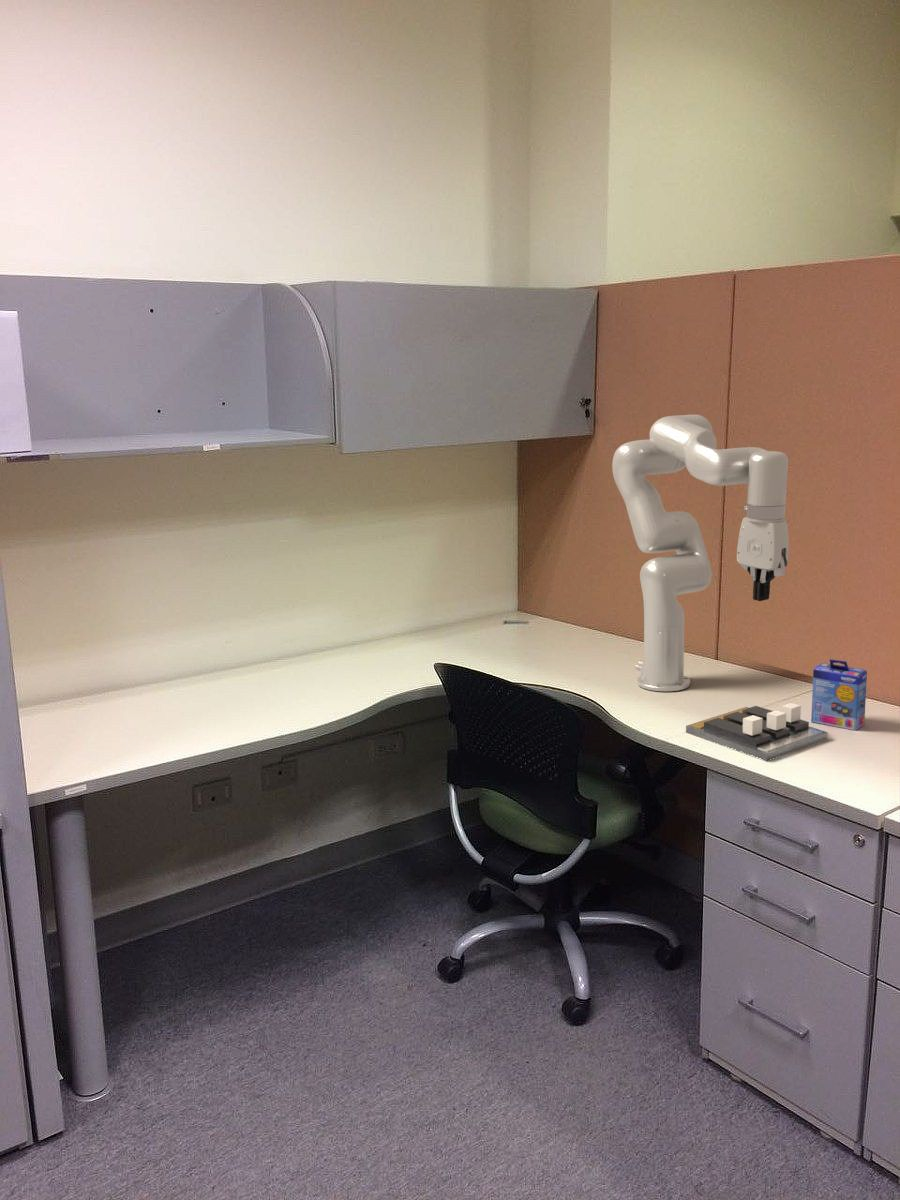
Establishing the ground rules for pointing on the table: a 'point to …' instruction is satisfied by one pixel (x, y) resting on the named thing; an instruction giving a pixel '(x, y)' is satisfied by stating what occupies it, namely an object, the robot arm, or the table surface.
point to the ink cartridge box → (839, 695)
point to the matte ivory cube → (776, 720)
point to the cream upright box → (752, 725)
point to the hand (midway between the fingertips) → (760, 599)
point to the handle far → (792, 712)
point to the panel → (752, 749)
